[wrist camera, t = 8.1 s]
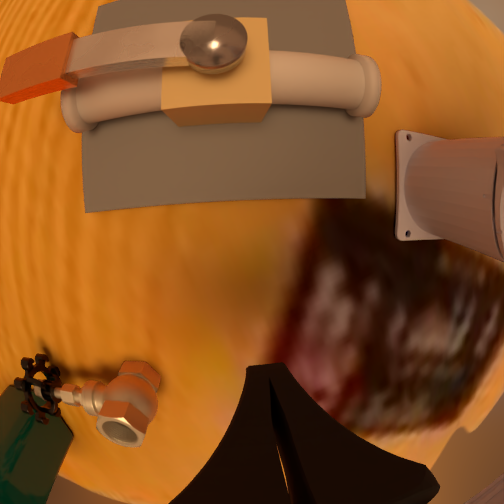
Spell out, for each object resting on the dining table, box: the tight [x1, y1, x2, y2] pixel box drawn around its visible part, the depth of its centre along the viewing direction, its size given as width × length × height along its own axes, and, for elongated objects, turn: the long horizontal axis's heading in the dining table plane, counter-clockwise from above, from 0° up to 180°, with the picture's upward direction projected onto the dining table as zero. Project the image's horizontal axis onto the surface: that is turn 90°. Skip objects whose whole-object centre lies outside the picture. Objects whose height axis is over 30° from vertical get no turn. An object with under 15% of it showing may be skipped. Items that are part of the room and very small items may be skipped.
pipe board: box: [61, 0, 381, 213], centre depth 12 cm, size 18×16×5 cm
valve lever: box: [0, 14, 248, 104], centre depth 8 cm, size 12×3×2 cm, turn 86°
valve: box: [14, 354, 161, 447], centre depth 17 cm, size 7×7×12 cm
